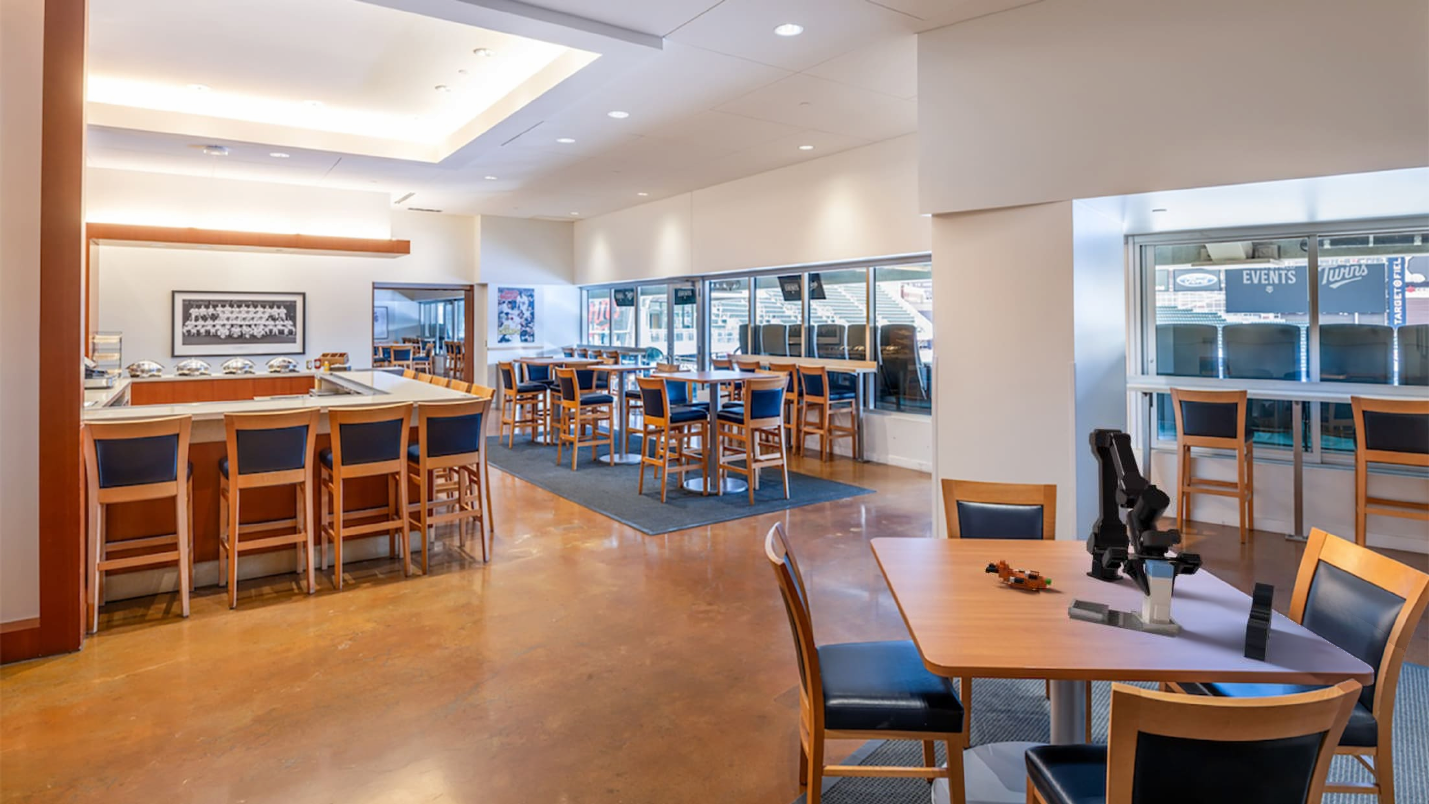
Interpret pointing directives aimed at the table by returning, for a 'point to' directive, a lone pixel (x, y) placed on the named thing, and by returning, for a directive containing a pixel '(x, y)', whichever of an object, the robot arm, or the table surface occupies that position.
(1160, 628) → the gray square frame
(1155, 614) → the plug
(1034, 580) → the toy
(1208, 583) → the table surface
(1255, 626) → the logo
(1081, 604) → the grey square holder
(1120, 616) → the panel
